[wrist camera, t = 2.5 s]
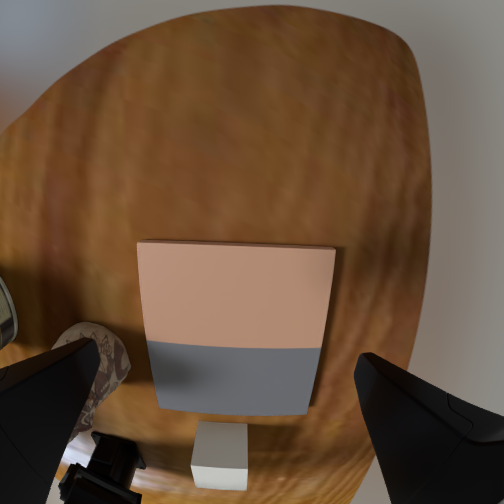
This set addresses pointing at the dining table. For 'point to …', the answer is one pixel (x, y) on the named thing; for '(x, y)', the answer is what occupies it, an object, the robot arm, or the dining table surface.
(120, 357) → the figurine
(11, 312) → the coffee can
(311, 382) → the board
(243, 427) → the cream block
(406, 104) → the dining table surface
